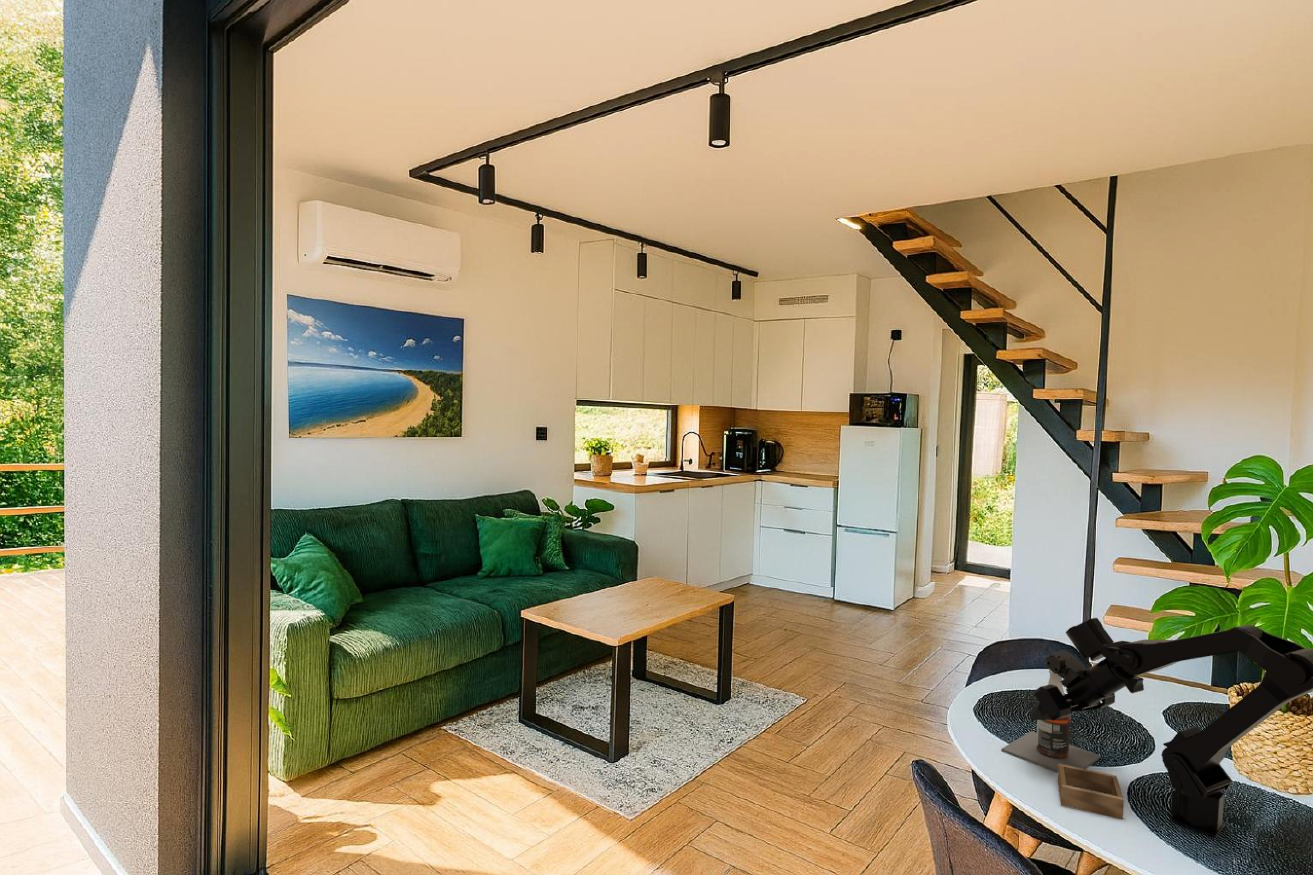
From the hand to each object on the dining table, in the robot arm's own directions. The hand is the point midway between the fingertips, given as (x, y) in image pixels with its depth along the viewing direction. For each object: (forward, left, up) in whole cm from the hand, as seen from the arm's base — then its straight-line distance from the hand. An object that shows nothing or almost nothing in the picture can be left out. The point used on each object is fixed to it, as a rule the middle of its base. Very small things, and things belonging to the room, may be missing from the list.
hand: (1046, 713), depth 154 cm
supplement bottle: (-2, 0, -8) cm, 8 cm away
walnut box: (-13, +13, -8) cm, 21 cm away
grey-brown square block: (-1, 0, -8) cm, 8 cm away
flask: (+8, -24, -8) cm, 26 cm away
